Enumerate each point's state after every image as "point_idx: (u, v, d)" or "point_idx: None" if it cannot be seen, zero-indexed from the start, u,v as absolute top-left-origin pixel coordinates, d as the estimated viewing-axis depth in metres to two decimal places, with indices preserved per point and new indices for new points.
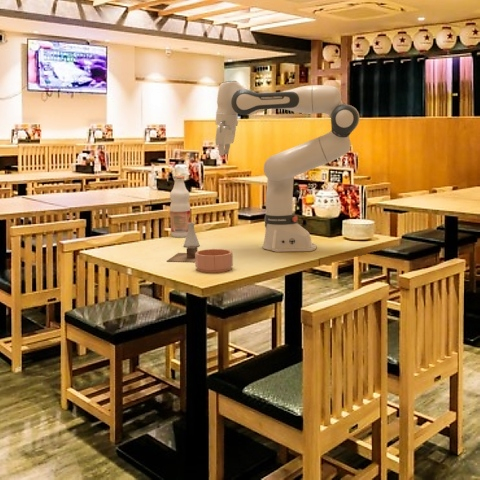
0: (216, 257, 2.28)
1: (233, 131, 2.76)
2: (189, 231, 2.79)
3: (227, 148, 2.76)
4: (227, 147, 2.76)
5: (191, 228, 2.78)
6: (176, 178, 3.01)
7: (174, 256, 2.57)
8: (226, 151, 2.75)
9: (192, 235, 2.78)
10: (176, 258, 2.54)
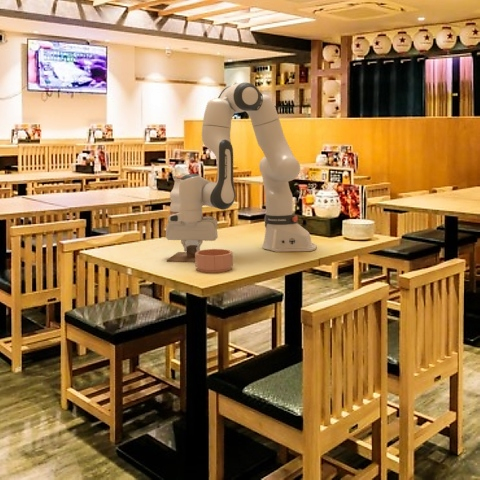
0: (216, 257, 2.28)
1: None
2: None
3: (185, 244, 2.55)
4: (184, 243, 2.55)
5: None
6: (176, 178, 3.01)
7: (174, 255, 2.57)
8: None
9: None
10: (176, 257, 2.53)
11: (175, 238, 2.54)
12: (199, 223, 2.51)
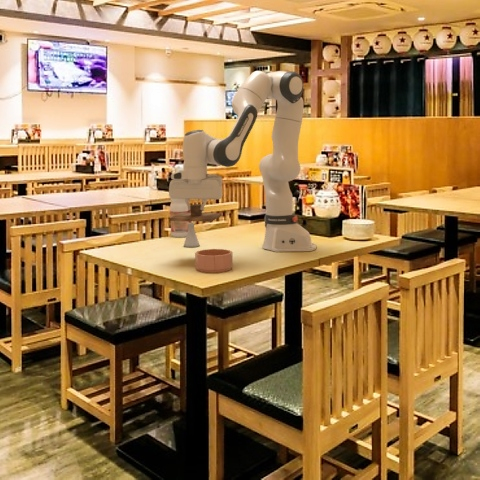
0: (216, 257, 2.28)
1: None
2: (189, 231, 2.79)
3: (189, 204, 2.47)
4: (188, 203, 2.47)
5: (191, 228, 2.78)
6: None
7: (177, 215, 2.49)
8: None
9: (192, 235, 2.78)
10: (179, 216, 2.45)
11: (179, 197, 2.45)
12: (203, 181, 2.42)
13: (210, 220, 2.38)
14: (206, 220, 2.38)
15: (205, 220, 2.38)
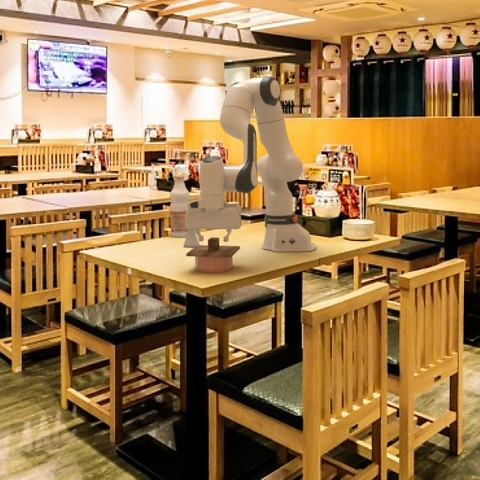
0: (216, 257, 2.28)
1: None
2: (189, 231, 2.79)
3: (199, 234, 2.35)
4: (199, 232, 2.35)
5: None
6: (176, 178, 3.01)
7: (194, 249, 2.36)
8: (202, 237, 2.35)
9: (192, 235, 2.78)
10: (196, 251, 2.33)
11: (195, 227, 2.32)
12: (222, 210, 2.30)
13: (229, 256, 2.25)
14: (225, 256, 2.26)
15: (224, 256, 2.26)
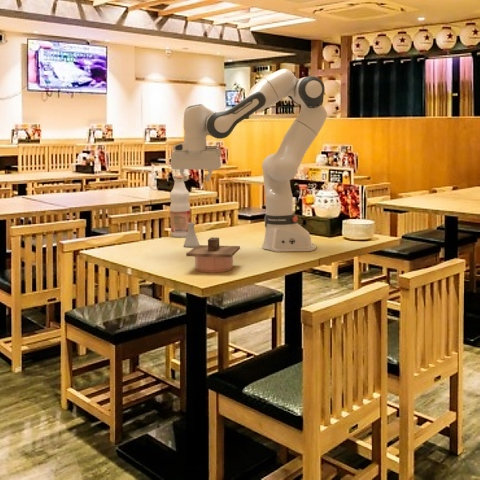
0: (216, 257, 2.28)
1: None
2: (189, 231, 2.79)
3: (183, 174, 2.64)
4: (183, 173, 2.64)
5: (191, 228, 2.78)
6: (176, 178, 3.01)
7: (194, 249, 2.36)
8: (186, 177, 2.64)
9: (192, 235, 2.78)
10: (196, 251, 2.33)
11: (180, 167, 2.62)
12: (203, 152, 2.59)
13: (229, 256, 2.25)
14: (225, 256, 2.26)
15: (224, 256, 2.26)
